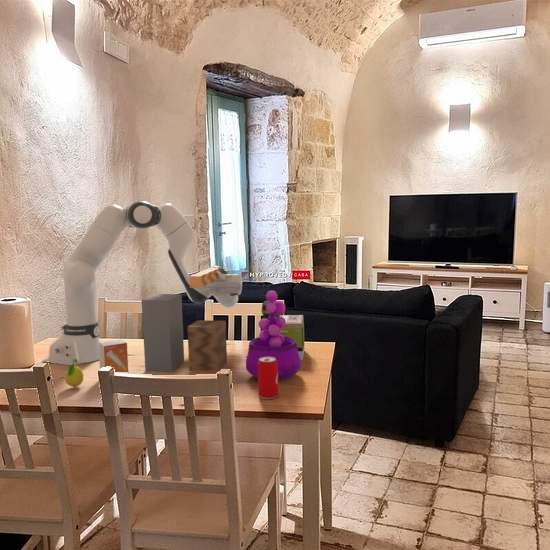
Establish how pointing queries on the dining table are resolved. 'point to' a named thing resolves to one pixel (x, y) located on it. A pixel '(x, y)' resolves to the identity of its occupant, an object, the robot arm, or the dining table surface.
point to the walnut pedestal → (207, 345)
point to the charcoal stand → (163, 332)
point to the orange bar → (203, 278)
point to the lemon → (74, 375)
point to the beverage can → (268, 377)
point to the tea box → (294, 331)
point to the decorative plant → (273, 342)
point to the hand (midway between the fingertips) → (211, 273)
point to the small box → (114, 355)
